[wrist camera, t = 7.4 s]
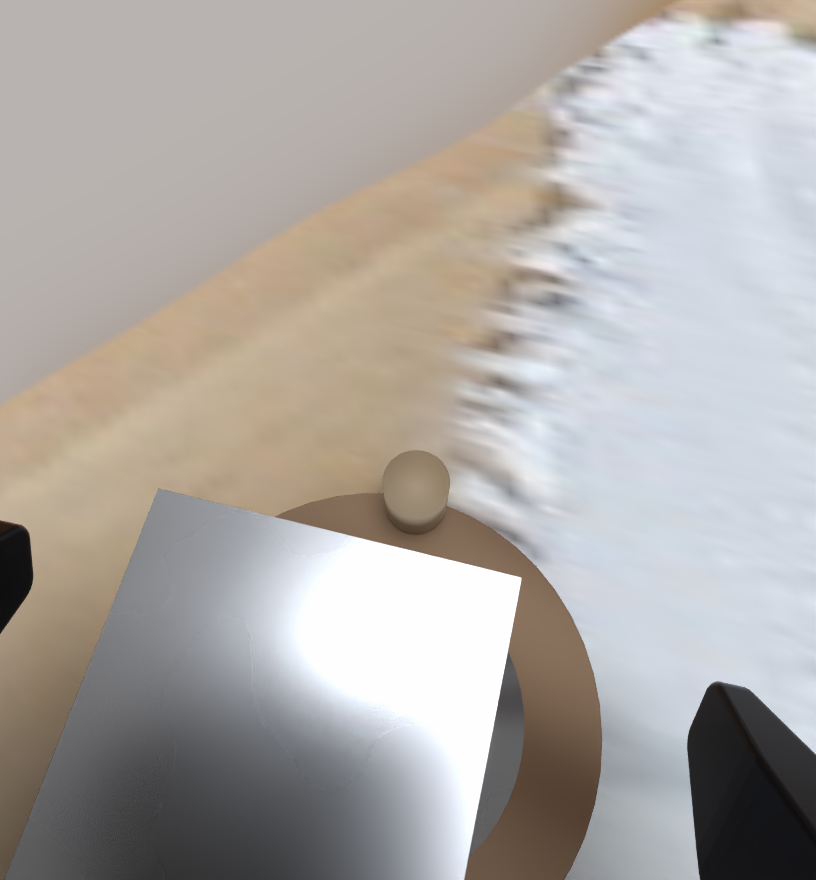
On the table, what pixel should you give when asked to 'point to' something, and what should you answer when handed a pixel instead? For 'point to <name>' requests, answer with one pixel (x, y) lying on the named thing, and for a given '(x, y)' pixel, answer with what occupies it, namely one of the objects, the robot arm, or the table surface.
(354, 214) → the table surface
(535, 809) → the post base
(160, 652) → the silver block on disc
